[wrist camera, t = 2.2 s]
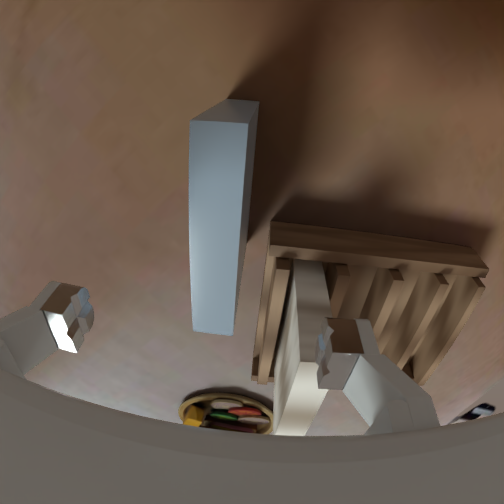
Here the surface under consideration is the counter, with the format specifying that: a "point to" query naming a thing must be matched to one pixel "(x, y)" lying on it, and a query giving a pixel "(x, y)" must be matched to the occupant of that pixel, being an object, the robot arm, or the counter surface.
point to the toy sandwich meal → (227, 413)
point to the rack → (356, 306)
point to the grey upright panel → (219, 209)
